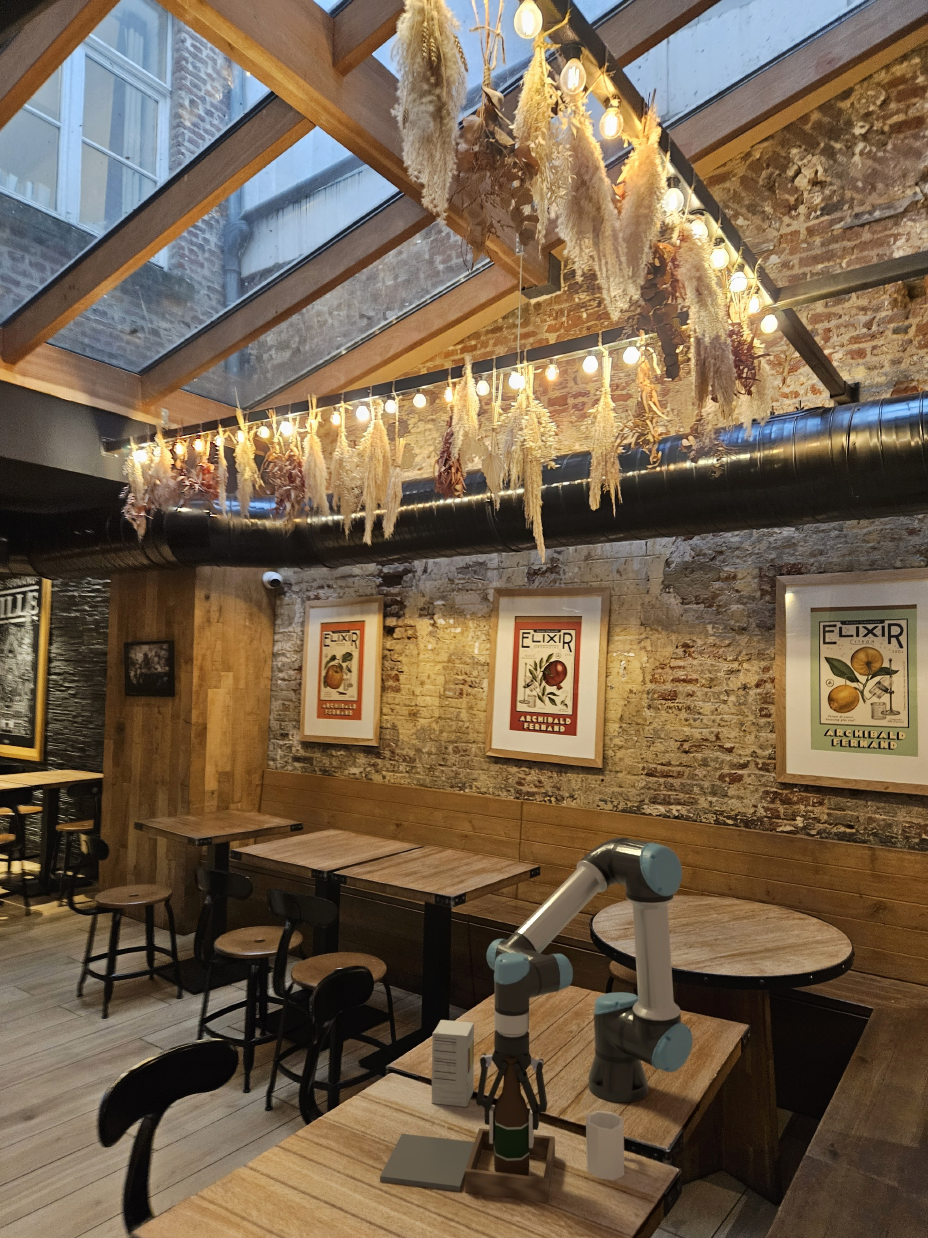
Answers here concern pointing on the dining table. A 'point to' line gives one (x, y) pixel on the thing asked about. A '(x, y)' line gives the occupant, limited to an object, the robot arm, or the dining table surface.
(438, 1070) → the supplement box
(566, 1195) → the dining table surface
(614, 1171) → the mug
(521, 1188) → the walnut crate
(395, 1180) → the slate pad
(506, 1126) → the beer bottle
